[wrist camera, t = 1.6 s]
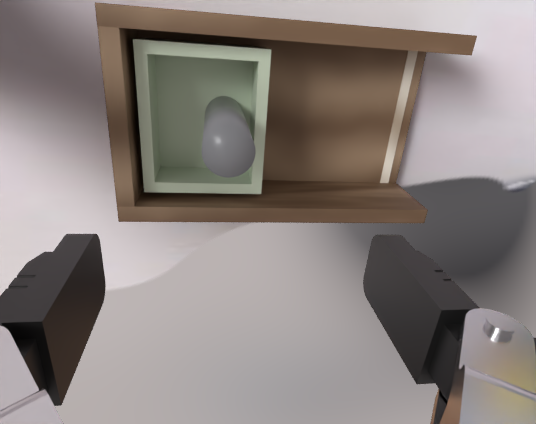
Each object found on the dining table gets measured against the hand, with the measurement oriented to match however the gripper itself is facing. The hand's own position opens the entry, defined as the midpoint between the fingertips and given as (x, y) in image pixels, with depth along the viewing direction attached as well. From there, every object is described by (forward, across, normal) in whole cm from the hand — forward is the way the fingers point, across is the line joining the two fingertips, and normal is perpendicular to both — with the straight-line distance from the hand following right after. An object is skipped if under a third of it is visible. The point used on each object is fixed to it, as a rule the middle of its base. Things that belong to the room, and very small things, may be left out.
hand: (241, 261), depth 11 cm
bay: (+23, -4, 0) cm, 24 cm away
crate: (+22, +1, 0) cm, 22 cm away
